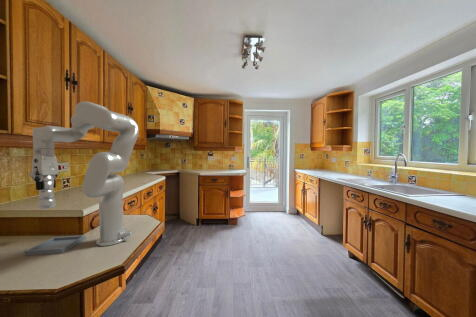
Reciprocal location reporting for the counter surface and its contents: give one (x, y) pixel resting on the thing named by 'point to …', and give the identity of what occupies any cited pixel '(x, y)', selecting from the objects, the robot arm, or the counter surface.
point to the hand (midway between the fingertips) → (46, 188)
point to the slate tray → (55, 245)
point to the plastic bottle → (47, 193)
